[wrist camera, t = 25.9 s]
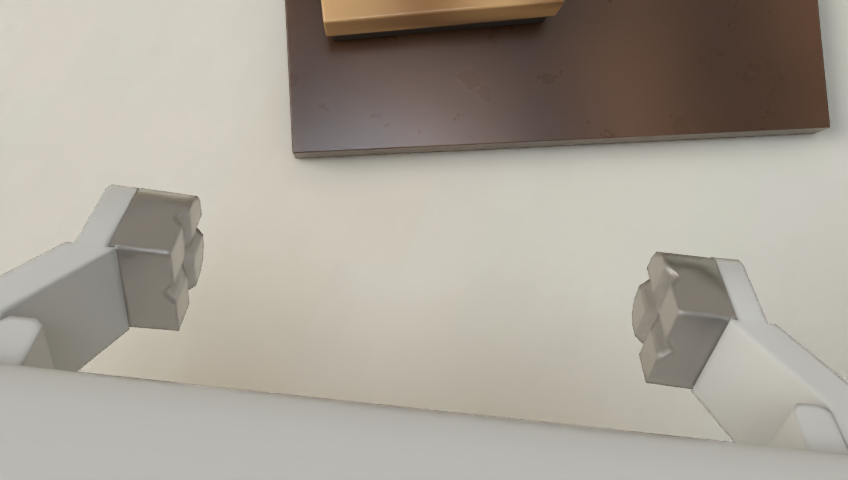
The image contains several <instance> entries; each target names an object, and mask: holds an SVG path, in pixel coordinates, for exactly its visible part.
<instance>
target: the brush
mask: <svg viewBox="0 0 848 480" xmlns="http://www.w3.org/2000/svg"><path fill="white" fill-rule="evenodd" d="M564 2H565V0H321V5H322V15H323V23H324V28H325V34H326V36H331V37H332V40H333V41H342V40H353V39H364V38H375V37H386V36H397V35H408V34H419V33H430V32H441V31H451V30H462V29H473V28H484V27H495V26H506V25H517V24H528V23H539V22H544V20H545V19H546V17H547V16H555V15H556V14H557V13H558V11H559V9H560V8H561V6H562V5H563V3H564Z"/></svg>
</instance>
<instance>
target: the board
mask: <svg viewBox="0 0 848 480" xmlns="http://www.w3.org/2000/svg"><path fill="white" fill-rule="evenodd" d="M285 9H286V29H287V49H288V70H289V90H290V110H291V130H292V151H293V154H294V156H295V158H314V157H335V156H355V155H376V154H397V153H417V152H438V151H459V150H479V149H500V148H521V147H542V146H562V145H583V144H604V143H624V142H645V141H666V140H686V139H707V138H728V137H748V136H769V135H790V134H811V133H816V132H819V131H821V130H824V129H827V128H829V127H830V121H829V111H828V101H827V91H826V81H825V71H824V61H823V51H822V41H821V31H820V21H819V11H818V1H817V0H565V2H564V3H563V5H562V6H561V8H560V9H559V11H558V13H557V14H556V15H555V16H547V17H546V19H545V20H544V22H539V23H528V24H517V25H506V26H495V27H484V28H473V29H462V30H451V31H441V32H430V33H419V34H408V35H397V36H386V37H375V38H364V39H353V40H342V41H333V40H332V37H331V36H326V34H325V28H324V23H323V15H322V5H321V0H285Z"/></svg>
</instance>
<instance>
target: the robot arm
mask: <svg viewBox="0 0 848 480" xmlns="http://www.w3.org/2000/svg"><path fill="white" fill-rule="evenodd" d="M201 215H202V213H201V204H200V199H199V198H198V197H197V196H193V195H186V194H179V193H172V192H165V191H158V190H151V189H144V188H141V189H139V188H134V187H127V186H120V185H111V186H109V187H107V188H106V189H105V191H104V192H103V194H102V196H101V198H100V199H99V201H98V203H97V204H96V206H95V208H94V210H93V211H92V213H91V215H90V216H89V218H88V220H87V222H86V223H85V225H84V227H83V228H82V230H81V232H80V234H79V235H78V237H77V239H76V241H75V242H74V243H72V242H65V243H63V244H61V245H59V246H57V247H55V248H53V249H51V250H49V251H47V252H45V253H44V254H42V255H40V256H38V257H36V258H34V259H32V260H30V261H28V262H26V263H24V264H22V265H20V266H19V267H17V268H15V269H13V270H11V271H9V272H7V273H5V274H3V275H1V276H0V480H848V383H847V382H846V381H845V380H844V379H842V378H841V377H840V376H839V375H837V374H836V373H835V372H834V371H832V370H831V369H830V368H829V367H828V366H826V365H825V364H824V363H823V362H821V361H820V360H819V359H818V358H817V357H815V356H814V355H813V354H812V353H810V352H809V351H808V350H807V349H805V348H804V347H803V346H802V345H801V344H799V343H798V342H797V341H796V340H794V339H793V338H792V337H791V336H789V335H788V334H787V333H786V332H785V331H783V330H782V329H781V328H780V327H778V326H777V325H776V324H768V322H767V320H766V317H765V315H764V313H763V310H762V308H761V306H760V303H759V301H758V299H757V296H756V294H755V291H754V289H753V287H752V284H751V282H750V280H749V277H748V275H747V273H746V270H745V268H744V265H743V264H742V263H741V262H740V261H739V260H734V259H724V258H714V257H711V258H707V257H698V256H689V255H681V254H672V253H663V252H656V253H655V254H654V255H653V256H652V257H651V260H650V262H649V264H648V267H647V270H648V274H649V278H650V279H649V280H647V281H646V282H644V283H643V284H641V285H640V286H639V288H638V291H637V293H636V296H635V299H634V304H633V311H632V324H633V329H634V334H635V336H636V337H637V338H638V339H639V340H640V341H641V342H642V343H643V347H642V349H641V351H640V353H639V356H640V360H641V364H642V369H643V373H644V377H645V381H646V383H651V384H659V385H666V386H673V387H681V388H688V389H692V390H691V391H692V393H693V394H694V395H695V396H696V397H697V399H698V400H699V401H700V402H701V403H702V405H703V406H704V407H705V408H706V409H707V411H708V412H709V413H710V414H711V415H712V416H713V418H714V419H715V420H716V421H717V422H718V424H719V425H720V426H721V427H722V428H723V430H724V431H725V432H726V433H727V434H728V436H729V437H730V438H731V439H732V440H733V442H729V441H719V440H710V439H700V438H690V437H681V436H671V435H662V434H652V433H643V432H634V431H625V430H615V429H606V428H597V427H588V426H579V425H569V424H560V423H551V422H542V421H533V420H523V419H514V418H505V417H496V416H486V415H477V414H467V413H458V412H449V411H439V410H430V409H420V408H411V407H401V406H392V405H383V404H373V403H364V402H354V401H345V400H335V399H326V398H317V397H307V396H298V395H289V394H280V393H270V392H261V391H252V390H242V389H233V388H224V387H215V386H205V385H196V384H187V383H177V382H168V381H159V380H150V379H140V378H131V377H122V376H112V375H103V374H94V373H85V372H77V371H78V370H79V369H81V368H82V367H83V366H84V365H86V364H87V363H88V362H89V361H91V360H92V359H93V358H94V357H96V356H97V355H98V354H99V353H101V352H102V351H103V350H104V349H105V348H107V347H108V346H109V345H110V344H112V343H113V342H114V341H115V340H117V339H118V338H119V337H120V336H122V335H123V334H124V333H125V332H127V331H128V330H129V327H139V328H151V329H163V330H175V331H179V329H180V327H181V324H182V321H183V319H184V316H185V314H186V311H187V308H188V306H189V294H188V290H190V289H191V288H193V287H194V286H196V284H197V281H198V278H199V275H200V272H201V266H202V261H203V249H204V242H203V234H202V233H201V232H200V230H199V229H198V228H197V225H198V223H199V220H200V218H201Z"/></svg>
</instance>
